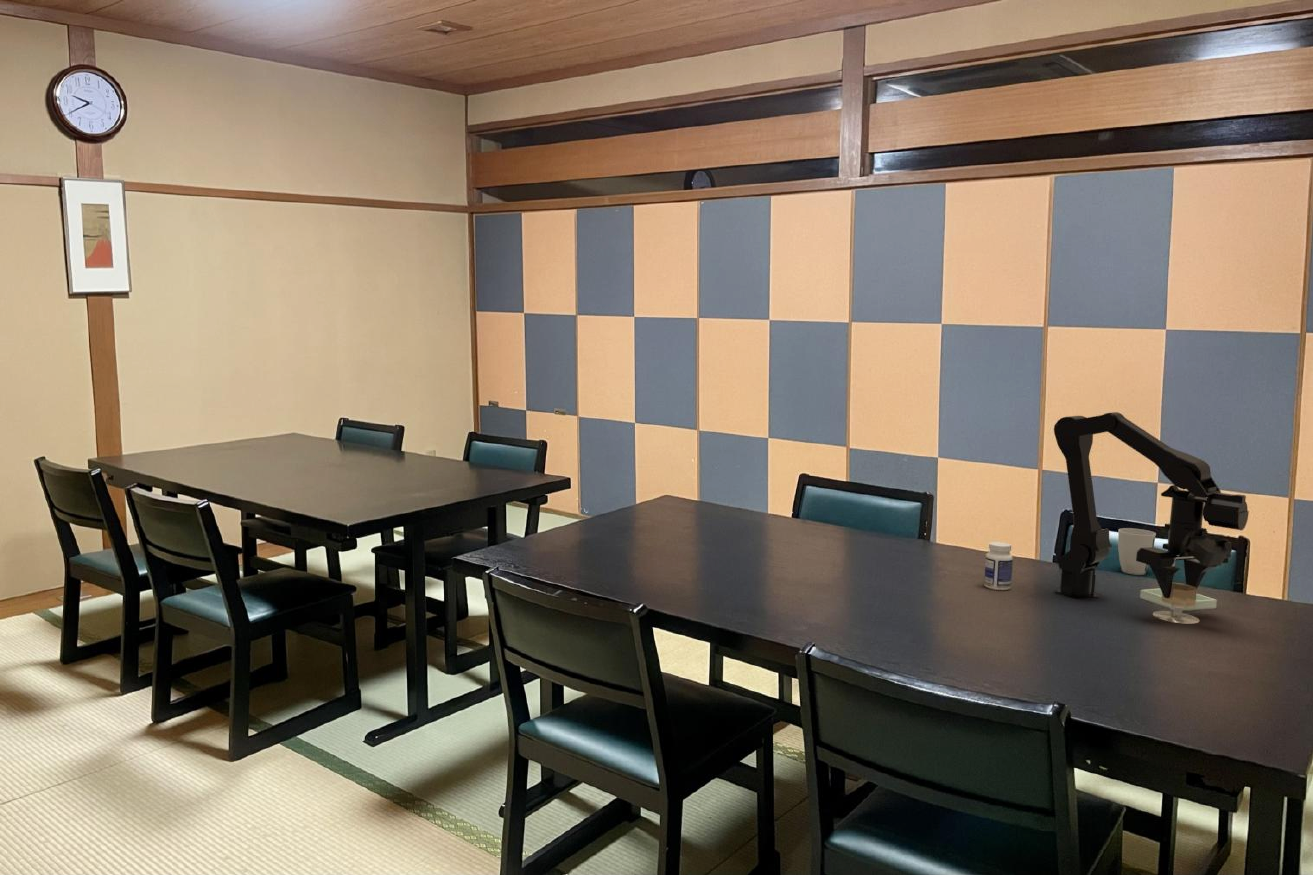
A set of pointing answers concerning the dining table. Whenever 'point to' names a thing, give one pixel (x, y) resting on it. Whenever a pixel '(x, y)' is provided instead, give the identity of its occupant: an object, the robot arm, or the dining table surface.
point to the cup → (1133, 548)
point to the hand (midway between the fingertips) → (1178, 596)
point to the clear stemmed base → (1176, 615)
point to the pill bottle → (998, 566)
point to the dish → (1201, 604)
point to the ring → (1181, 595)
